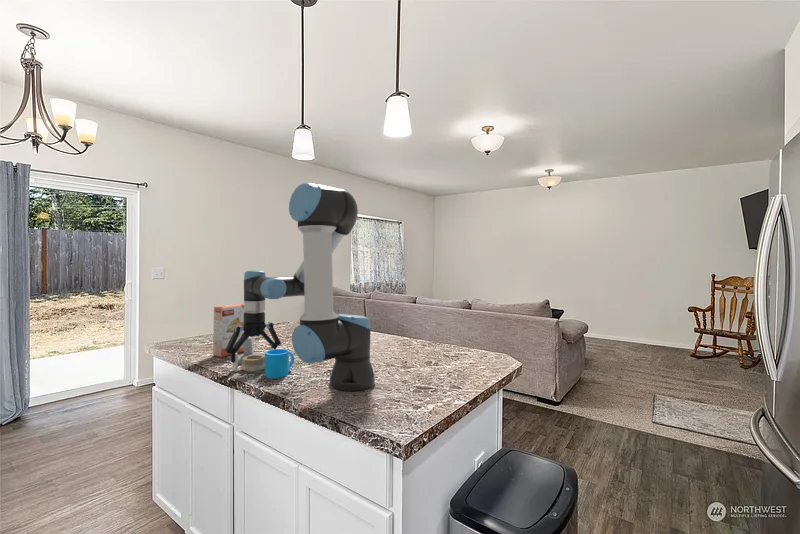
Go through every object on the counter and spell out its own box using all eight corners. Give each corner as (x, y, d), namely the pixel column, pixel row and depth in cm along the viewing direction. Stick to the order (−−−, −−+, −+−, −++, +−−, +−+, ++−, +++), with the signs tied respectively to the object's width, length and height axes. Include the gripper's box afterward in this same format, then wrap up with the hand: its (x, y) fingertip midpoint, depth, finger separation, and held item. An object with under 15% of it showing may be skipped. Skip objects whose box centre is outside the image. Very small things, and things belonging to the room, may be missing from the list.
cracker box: (222, 357, 153) (222, 307, 153) (212, 355, 156) (212, 306, 155) (249, 350, 166) (250, 303, 165) (240, 348, 168) (240, 302, 168)
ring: (268, 368, 140) (269, 357, 140) (247, 372, 135) (247, 361, 135) (260, 363, 146) (260, 353, 146) (239, 367, 141) (239, 356, 140)
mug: (275, 379, 128) (275, 356, 128) (259, 375, 132) (259, 352, 132) (301, 370, 138) (301, 348, 138) (285, 367, 142) (286, 345, 142)
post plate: (268, 359, 152) (268, 338, 152) (238, 364, 144) (238, 342, 144) (256, 353, 161) (256, 333, 161) (227, 358, 153) (227, 337, 153)
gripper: (281, 307, 151) (280, 359, 152) (215, 313, 134) (215, 371, 135) (289, 309, 146) (289, 363, 146) (222, 316, 129) (222, 376, 129)
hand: (253, 367), depth 141 cm, fingers open, 13 cm apart
